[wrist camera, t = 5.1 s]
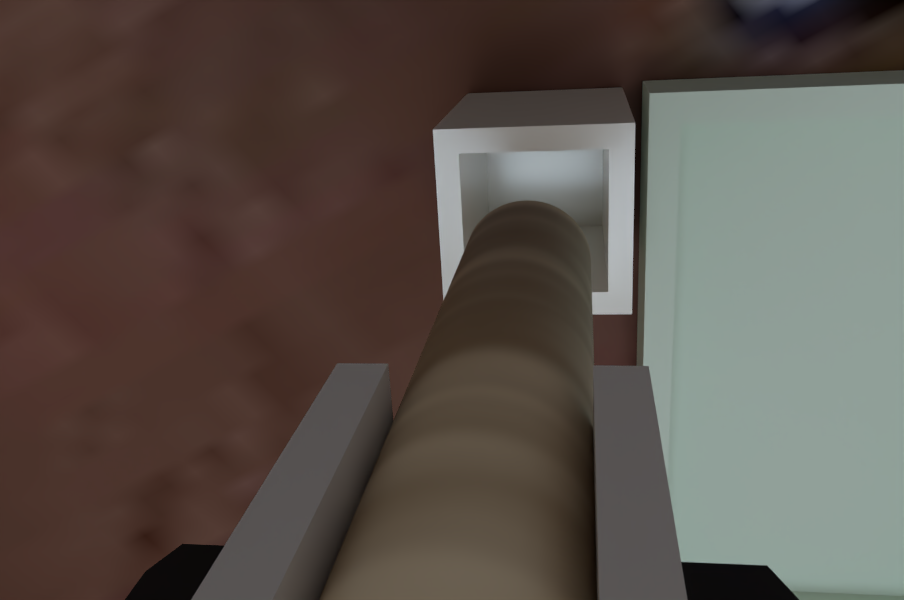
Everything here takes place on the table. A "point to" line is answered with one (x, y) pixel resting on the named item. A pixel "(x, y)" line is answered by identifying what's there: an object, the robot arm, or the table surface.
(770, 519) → the tray
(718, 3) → the table surface
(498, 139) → the cup
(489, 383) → the dowel
